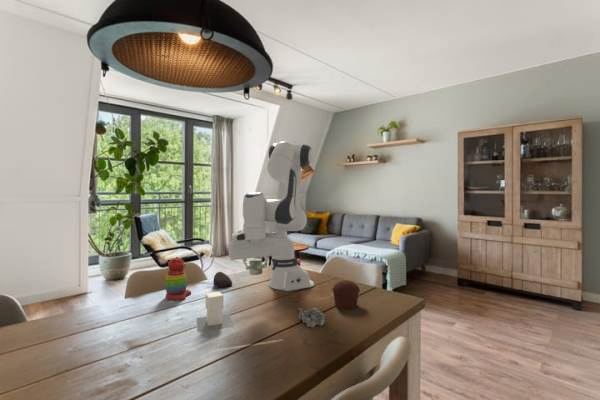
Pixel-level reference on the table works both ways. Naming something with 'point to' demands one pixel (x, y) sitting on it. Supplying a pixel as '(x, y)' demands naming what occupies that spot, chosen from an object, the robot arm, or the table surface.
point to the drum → (255, 266)
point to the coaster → (204, 326)
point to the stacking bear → (176, 280)
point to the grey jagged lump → (312, 317)
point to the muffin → (346, 294)
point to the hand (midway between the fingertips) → (255, 268)
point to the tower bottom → (214, 317)
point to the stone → (221, 280)
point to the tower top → (214, 301)
